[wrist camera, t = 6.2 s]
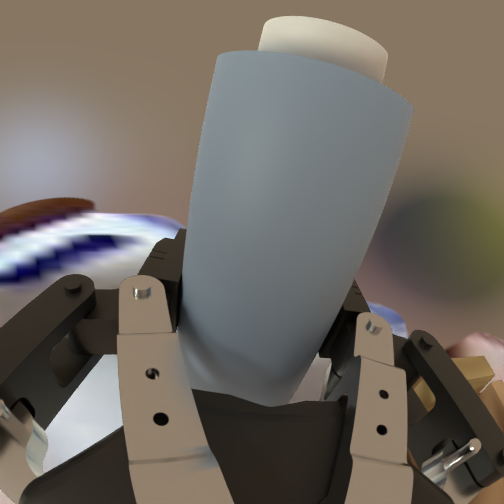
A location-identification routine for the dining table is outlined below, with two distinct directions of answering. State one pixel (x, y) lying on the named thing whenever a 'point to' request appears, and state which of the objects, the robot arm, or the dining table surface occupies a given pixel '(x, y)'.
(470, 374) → the display stand
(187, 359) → the flask
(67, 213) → the dining table surface
